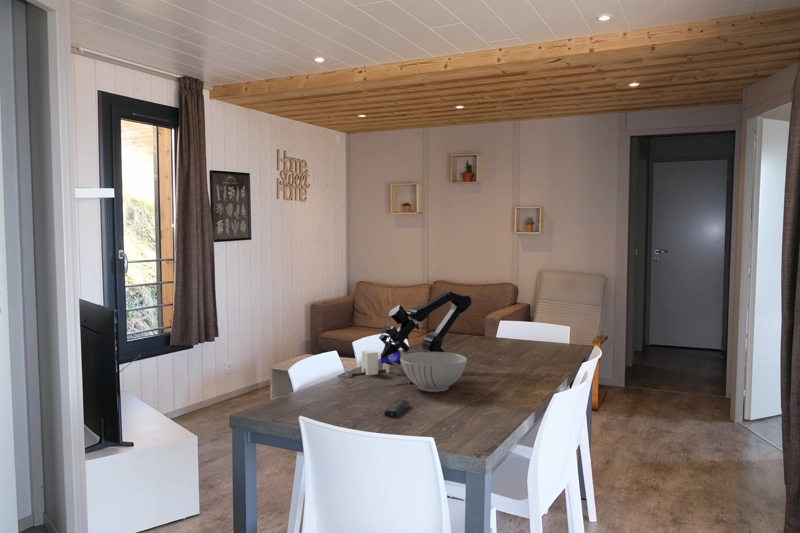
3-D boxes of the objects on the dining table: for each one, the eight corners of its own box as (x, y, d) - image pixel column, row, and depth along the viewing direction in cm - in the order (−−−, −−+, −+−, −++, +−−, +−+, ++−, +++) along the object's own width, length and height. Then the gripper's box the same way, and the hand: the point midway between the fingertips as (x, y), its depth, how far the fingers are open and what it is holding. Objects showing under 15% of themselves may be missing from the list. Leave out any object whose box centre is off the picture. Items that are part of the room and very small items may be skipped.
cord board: (382, 372, 271) (383, 361, 271) (393, 376, 262) (393, 366, 262) (341, 377, 261) (341, 366, 261) (351, 382, 253) (351, 371, 252)
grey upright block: (372, 371, 266) (372, 350, 265) (377, 374, 261) (377, 352, 261) (361, 372, 264) (361, 351, 263) (367, 375, 259) (367, 353, 258)
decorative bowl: (410, 399, 227) (411, 367, 227) (392, 382, 253) (392, 353, 253) (477, 394, 235) (477, 363, 234) (453, 378, 260) (453, 350, 260)
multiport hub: (409, 407, 218) (409, 400, 218) (396, 418, 205) (396, 411, 205) (397, 405, 220) (397, 399, 220) (384, 417, 206) (384, 410, 206)
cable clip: (392, 361, 294) (392, 349, 294) (400, 362, 292) (400, 350, 292) (378, 365, 285) (378, 353, 284) (385, 367, 282) (385, 354, 282)
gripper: (382, 316, 275) (360, 342, 270) (403, 321, 258) (379, 349, 253) (397, 332, 279) (376, 358, 274) (418, 338, 262) (396, 366, 258)
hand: (381, 357), depth 265 cm, fingers closed
